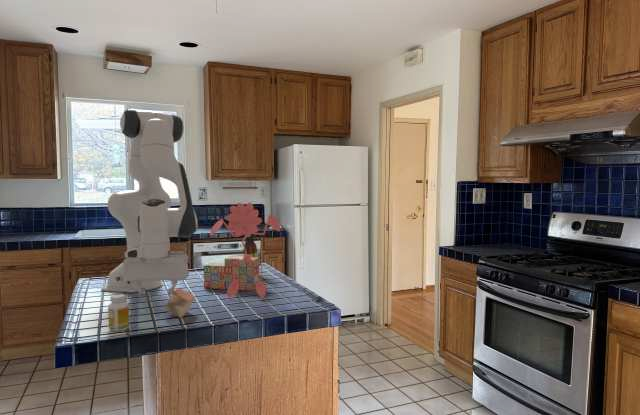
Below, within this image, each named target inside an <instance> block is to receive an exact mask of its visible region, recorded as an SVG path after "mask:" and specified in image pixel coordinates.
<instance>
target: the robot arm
mask: <svg viewBox="0 0 640 415" xmlns="http://www.w3.org/2000/svg"><path fill="white" fill-rule="evenodd" d="M119 126H120V130H121V133H122V134H123V135H124V136H125V137H127V138H129V139H132V142H131V146H130V147H131V148H130V155H129V164H128V173H129V175H130V177H131V178H132V179H133V180H135V181H137V182H138V186H139V187H138V189H135V190H134V189H132V190H131V189H130V190H128V189H126V190H121V191H118V192H114V193H112V194H111V195H110V196H109V197H108V200H107V209H108V212H109V214H110V215H111V216H112V217H113V218H115V219H116V220H117V221H118V222H119V223H120V224H121V225H122V227H123V230H124V233H125V237H126V238H125V239H126V248H127V249H126V251H125V252H124V253H123V254H122V255H121V256H120V258H121V259H122V262H121V263H120V264H119V265H118V266H117V267H114V269H113V270H112V271H110V272H109V274H108V277H107V283H105V284H103V285H102V286H101V288H100V289H101V291H104V292H121V293H122V292H123V293H137V292H138V295H145V294H146V291H148V290H153V289H157V288H160V287H162V286H163V282H162V281H170V283H171V287H169V288H168V289H167V292H168V293H167V294H168V295H171V294H172V292H174V291H175V289H176V286H177V285H178V282H180V281H185V280H187V279H188V278H189V275H190V274H189V265H188V262H189V255H188V254H187V253H186V252H184V251H183V250H171V245H170V244H171V243H170V242H171V241H170V240H171V239H170V238H173V237H175V238H177V237H178V238H190V237H191V236H193V234H195V233H196V232H197V230H198V224H199V222H198V217H197V213H196V212H195V209H194V206H193V200H192V195H191V191H190V190H191V189H190V186H189V181H188V177H187V173H186V168H185V167H184V165H183V163H181V162H179V161H178V160H177V158H176V156H175V144H174V143H177V142H179V141H180V140H181V139H182V138H183V134H184V129H185V128H184V127H185V126H184V121H183V120H182V118H181V117H180V116H178V115H177V114H176V115H175V114H170V113H166V112H161V111H156V110H144V109H143V110H142V109H136V108H128V109H125V110H123V113H122V114H121V117H120V120H119ZM160 178H162V179H165V180H167V181H170V182H172V183H173V184H174V186H176V189H177V193H178V199H179V204H180V206H179V207H174V208H171V205H172V201H171V196H170V195H169V193H168V192H166V191H165V189H164V188H163V186H162V183H161V180H160Z"/></svg>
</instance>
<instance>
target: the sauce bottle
mask: <svg viewBox="0 0 640 415" xmlns="http://www.w3.org/2000/svg"><path fill="white" fill-rule="evenodd" d="M254 236H255V234H251V236H250V237H246V239H245V240H244V245H245V249H246V252H247V254H248V255H250V257H259V254H258V248H257V244H256V243H255V238H254ZM242 249H243V251H242V253H243V254H242V256H244V255H246V253H245V250H244V248H242Z"/></svg>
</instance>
